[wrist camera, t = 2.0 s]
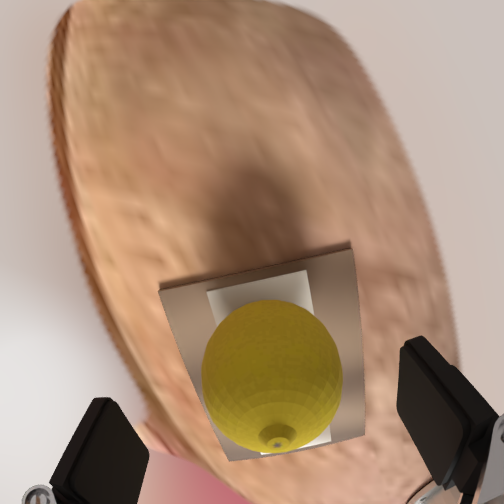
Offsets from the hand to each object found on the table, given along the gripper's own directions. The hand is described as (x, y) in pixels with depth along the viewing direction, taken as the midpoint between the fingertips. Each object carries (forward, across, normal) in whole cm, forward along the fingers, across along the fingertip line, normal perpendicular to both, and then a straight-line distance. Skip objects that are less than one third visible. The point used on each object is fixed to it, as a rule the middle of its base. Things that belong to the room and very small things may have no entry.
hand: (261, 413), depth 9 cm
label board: (+7, 0, +5) cm, 9 cm away
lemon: (+7, 0, +1) cm, 7 cm away
